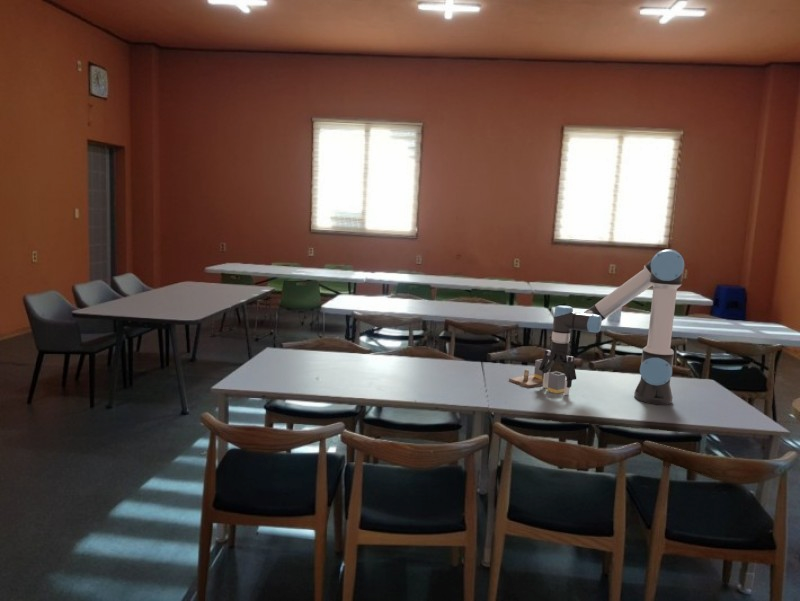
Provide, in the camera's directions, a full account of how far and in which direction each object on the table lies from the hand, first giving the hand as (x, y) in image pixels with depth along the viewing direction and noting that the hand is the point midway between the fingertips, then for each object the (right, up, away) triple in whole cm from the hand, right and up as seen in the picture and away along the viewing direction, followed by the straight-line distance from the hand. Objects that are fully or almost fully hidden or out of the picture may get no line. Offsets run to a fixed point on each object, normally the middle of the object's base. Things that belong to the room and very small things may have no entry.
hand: (555, 390), depth 260 cm
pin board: (-7, +2, +14) cm, 15 cm away
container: (+8, +4, +31) cm, 32 cm away
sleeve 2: (0, 0, 0) cm, 0 cm away
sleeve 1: (-2, +4, +17) cm, 17 cm away
